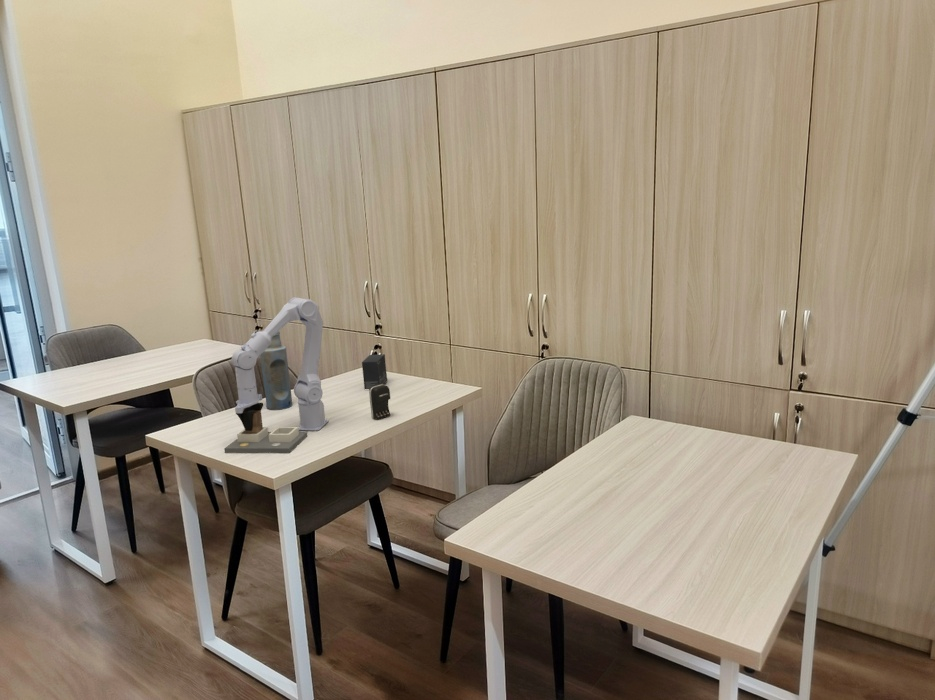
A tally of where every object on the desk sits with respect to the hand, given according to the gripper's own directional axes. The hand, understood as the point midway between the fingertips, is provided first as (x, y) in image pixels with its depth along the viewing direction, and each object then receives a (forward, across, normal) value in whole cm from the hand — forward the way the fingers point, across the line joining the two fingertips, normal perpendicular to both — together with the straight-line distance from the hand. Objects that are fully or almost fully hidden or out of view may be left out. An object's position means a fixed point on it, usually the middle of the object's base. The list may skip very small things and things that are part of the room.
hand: (252, 428), depth 211 cm
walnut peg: (+3, 0, 0) cm, 3 cm away
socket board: (+5, +2, +5) cm, 7 cm away
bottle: (+5, -39, -8) cm, 40 cm away
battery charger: (+5, -25, +36) cm, 44 cm away
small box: (+5, -67, +22) cm, 71 cm away
